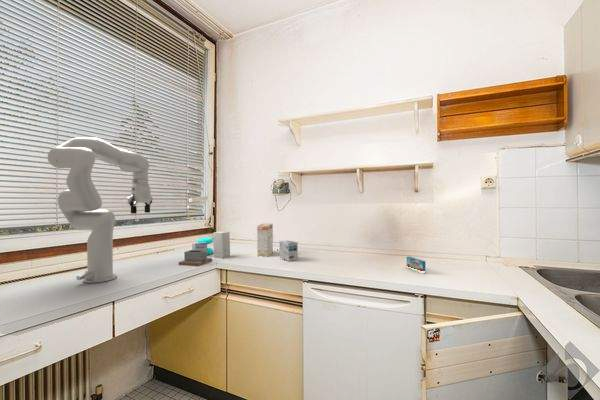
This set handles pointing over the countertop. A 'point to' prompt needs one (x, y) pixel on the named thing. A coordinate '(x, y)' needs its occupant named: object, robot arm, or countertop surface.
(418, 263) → the teal flat box
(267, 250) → the coffeecake box
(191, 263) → the keeper board
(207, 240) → the donuts
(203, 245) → the medicine box
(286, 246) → the light bulb box
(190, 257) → the gray open box
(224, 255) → the skincare box
